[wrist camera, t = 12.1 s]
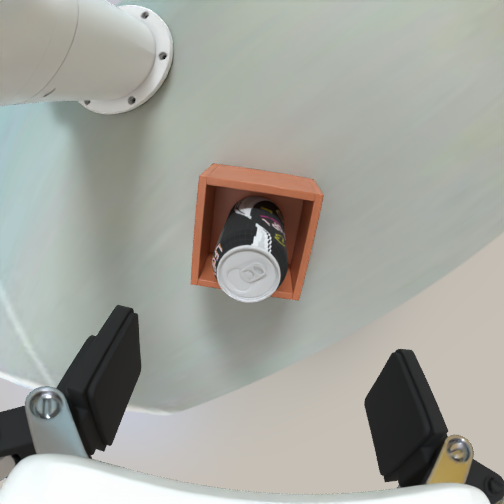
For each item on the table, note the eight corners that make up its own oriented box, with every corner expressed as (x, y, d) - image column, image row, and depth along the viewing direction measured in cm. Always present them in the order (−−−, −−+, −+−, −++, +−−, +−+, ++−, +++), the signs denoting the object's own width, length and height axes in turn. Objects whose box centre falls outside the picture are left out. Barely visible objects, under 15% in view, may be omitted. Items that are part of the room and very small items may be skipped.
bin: (203, 254, 36) (190, 284, 30) (212, 163, 32) (199, 175, 26) (294, 268, 36) (298, 300, 30) (313, 179, 32) (323, 195, 26)
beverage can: (294, 227, 33) (304, 285, 22) (250, 255, 35) (240, 322, 24) (262, 183, 32) (257, 222, 21) (217, 214, 33) (191, 267, 22)
